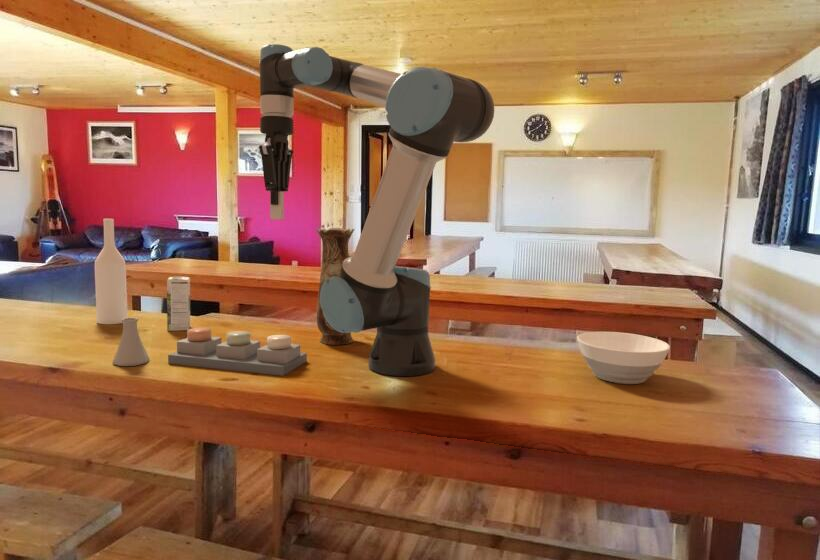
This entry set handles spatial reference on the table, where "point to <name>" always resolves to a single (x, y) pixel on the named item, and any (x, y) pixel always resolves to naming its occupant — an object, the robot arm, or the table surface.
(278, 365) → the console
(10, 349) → the table surface
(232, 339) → the button sage
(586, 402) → the table surface
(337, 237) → the vase
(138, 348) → the flask
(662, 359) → the bowl
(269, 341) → the button cream
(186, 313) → the syrup box
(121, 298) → the bottle
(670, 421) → the table surface
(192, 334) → the button terracotta
